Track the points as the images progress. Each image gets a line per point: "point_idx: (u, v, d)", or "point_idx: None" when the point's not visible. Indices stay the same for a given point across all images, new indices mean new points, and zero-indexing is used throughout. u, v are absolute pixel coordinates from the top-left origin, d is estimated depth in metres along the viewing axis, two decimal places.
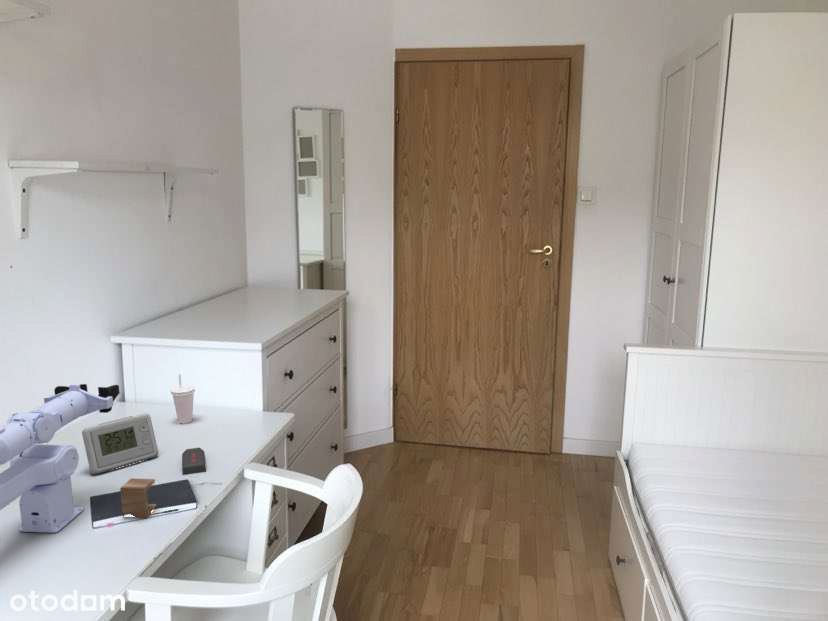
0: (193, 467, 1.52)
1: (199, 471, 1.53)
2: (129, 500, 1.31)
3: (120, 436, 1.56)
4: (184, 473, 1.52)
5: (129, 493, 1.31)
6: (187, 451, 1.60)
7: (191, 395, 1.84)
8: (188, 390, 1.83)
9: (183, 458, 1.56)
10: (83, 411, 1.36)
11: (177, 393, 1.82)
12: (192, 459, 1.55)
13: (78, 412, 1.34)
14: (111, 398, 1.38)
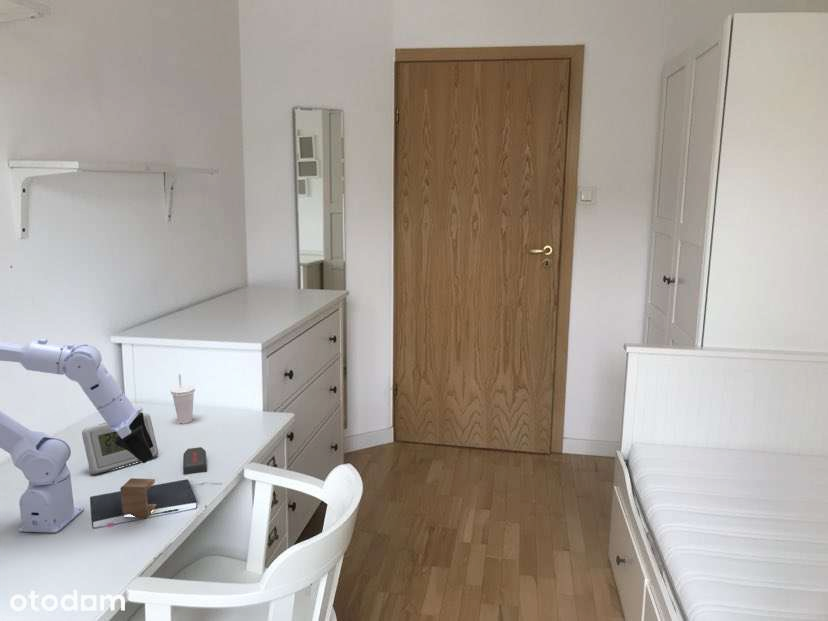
0: (194, 467, 1.52)
1: (200, 471, 1.53)
2: (129, 500, 1.31)
3: None
4: (185, 472, 1.52)
5: (129, 493, 1.31)
6: (188, 451, 1.60)
7: (191, 395, 1.84)
8: (188, 390, 1.83)
9: (184, 457, 1.56)
10: (112, 419, 1.28)
11: (177, 393, 1.82)
12: (194, 459, 1.55)
13: (108, 409, 1.28)
14: (128, 432, 1.25)
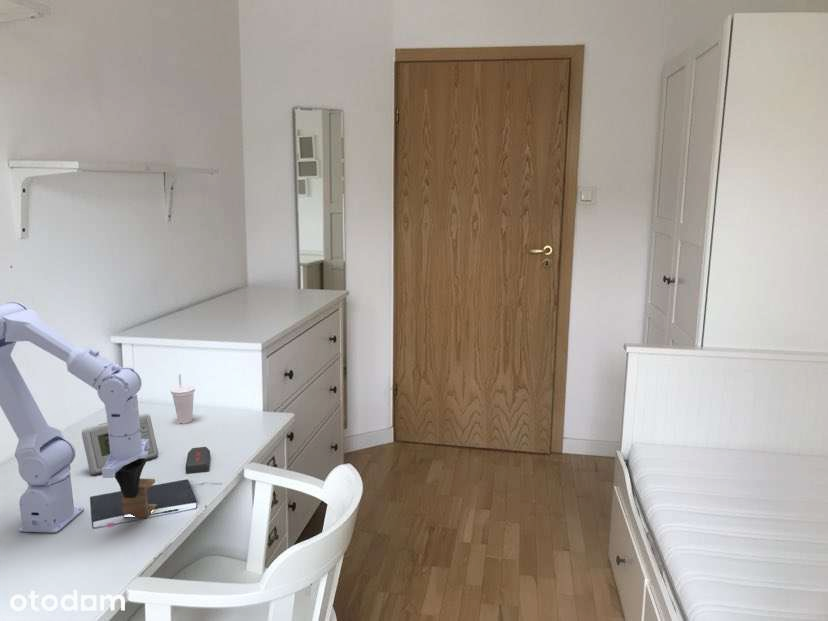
0: (196, 467, 1.52)
1: (202, 470, 1.53)
2: (129, 500, 1.31)
3: None
4: (187, 472, 1.52)
5: None
6: (193, 450, 1.60)
7: (191, 395, 1.84)
8: (188, 390, 1.83)
9: (188, 457, 1.57)
10: (113, 450, 1.26)
11: (177, 393, 1.82)
12: (197, 458, 1.55)
13: (113, 441, 1.25)
14: (111, 475, 1.21)
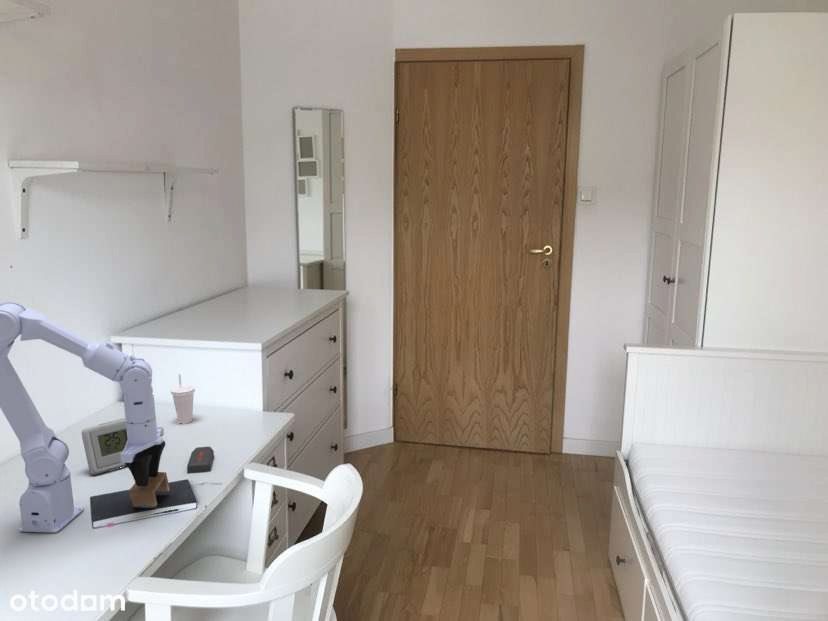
0: (198, 467, 1.53)
1: (203, 471, 1.53)
2: None
3: (120, 436, 1.56)
4: (189, 472, 1.52)
5: None
6: (196, 449, 1.61)
7: (191, 395, 1.84)
8: (188, 390, 1.83)
9: (191, 456, 1.57)
10: (130, 437, 1.32)
11: (177, 393, 1.82)
12: (199, 458, 1.55)
13: (131, 428, 1.31)
14: (129, 460, 1.28)
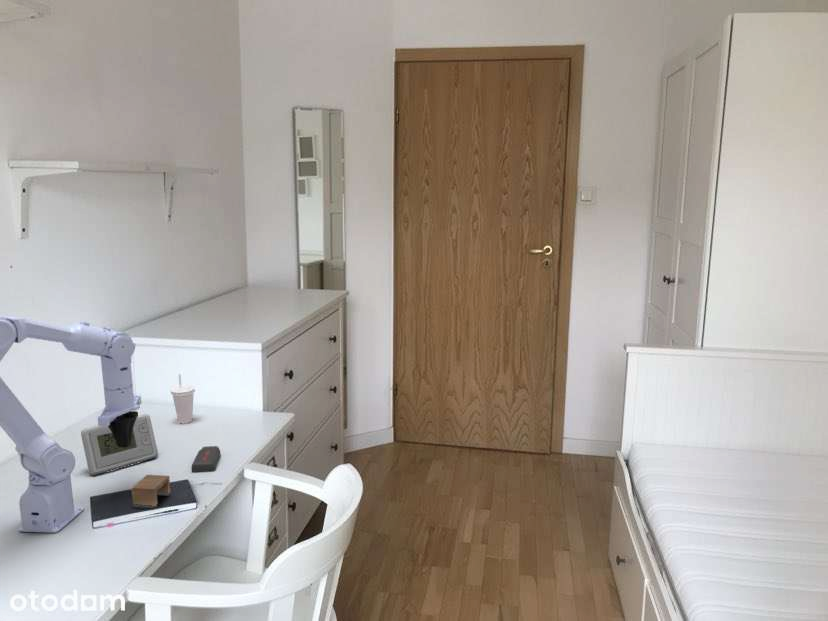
0: (202, 466, 1.53)
1: (208, 470, 1.53)
2: (148, 480, 1.39)
3: None
4: (193, 471, 1.53)
5: (152, 477, 1.40)
6: (203, 449, 1.61)
7: (191, 395, 1.84)
8: (188, 390, 1.83)
9: (197, 455, 1.58)
10: (107, 403, 1.39)
11: (177, 393, 1.82)
12: (204, 458, 1.56)
13: (108, 394, 1.38)
14: (106, 424, 1.34)
